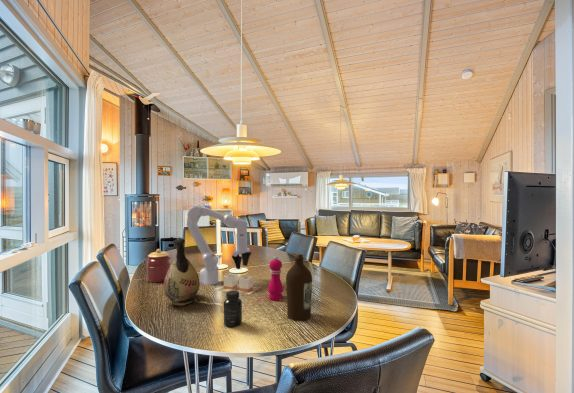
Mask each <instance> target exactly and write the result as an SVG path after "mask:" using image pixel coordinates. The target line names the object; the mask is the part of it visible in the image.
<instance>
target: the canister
mask: <svg viewBox="0 0 574 393" xmlns="http://www.w3.org/2000/svg"><path fill="white" fill-rule="evenodd" d="M170 261H171V257H170V253H169V252H167V251H162V250H161V248H157V249H156V250H155V251H154V252H150V253H149V254H147V258H146V265H145V267H146V281H147V282H149V283H162V282H164V280H165V277H166V274H167V272H168V270H169V268H170V266H171V264H172V263H171V262H170Z"/></svg>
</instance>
